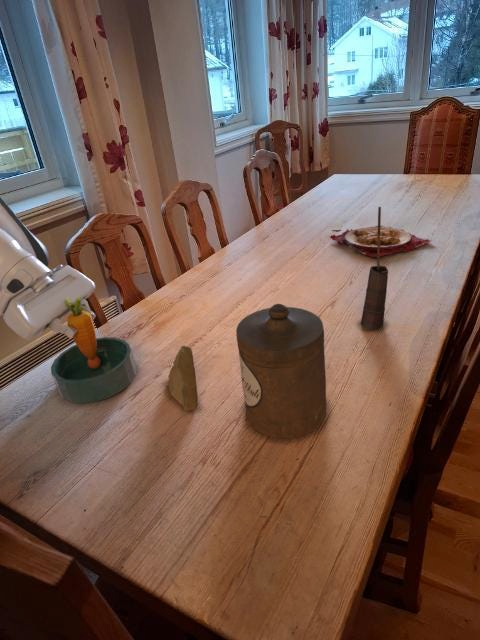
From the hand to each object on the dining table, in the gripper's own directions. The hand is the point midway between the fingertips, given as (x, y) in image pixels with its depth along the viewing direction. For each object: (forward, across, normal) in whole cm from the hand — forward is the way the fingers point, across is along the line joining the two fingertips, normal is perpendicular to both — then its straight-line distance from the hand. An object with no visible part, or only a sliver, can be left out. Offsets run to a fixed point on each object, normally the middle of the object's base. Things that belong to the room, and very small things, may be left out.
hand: (84, 327), depth 88 cm
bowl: (+9, 0, -10) cm, 14 cm away
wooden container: (+39, +1, +20) cm, 44 cm away
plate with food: (+48, -89, +28) cm, 105 cm away
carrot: (+6, 0, -6) cm, 9 cm away
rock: (+24, +2, +5) cm, 25 cm away
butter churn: (+49, -31, +30) cm, 65 cm away
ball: (+6, -3, -11) cm, 13 cm away
